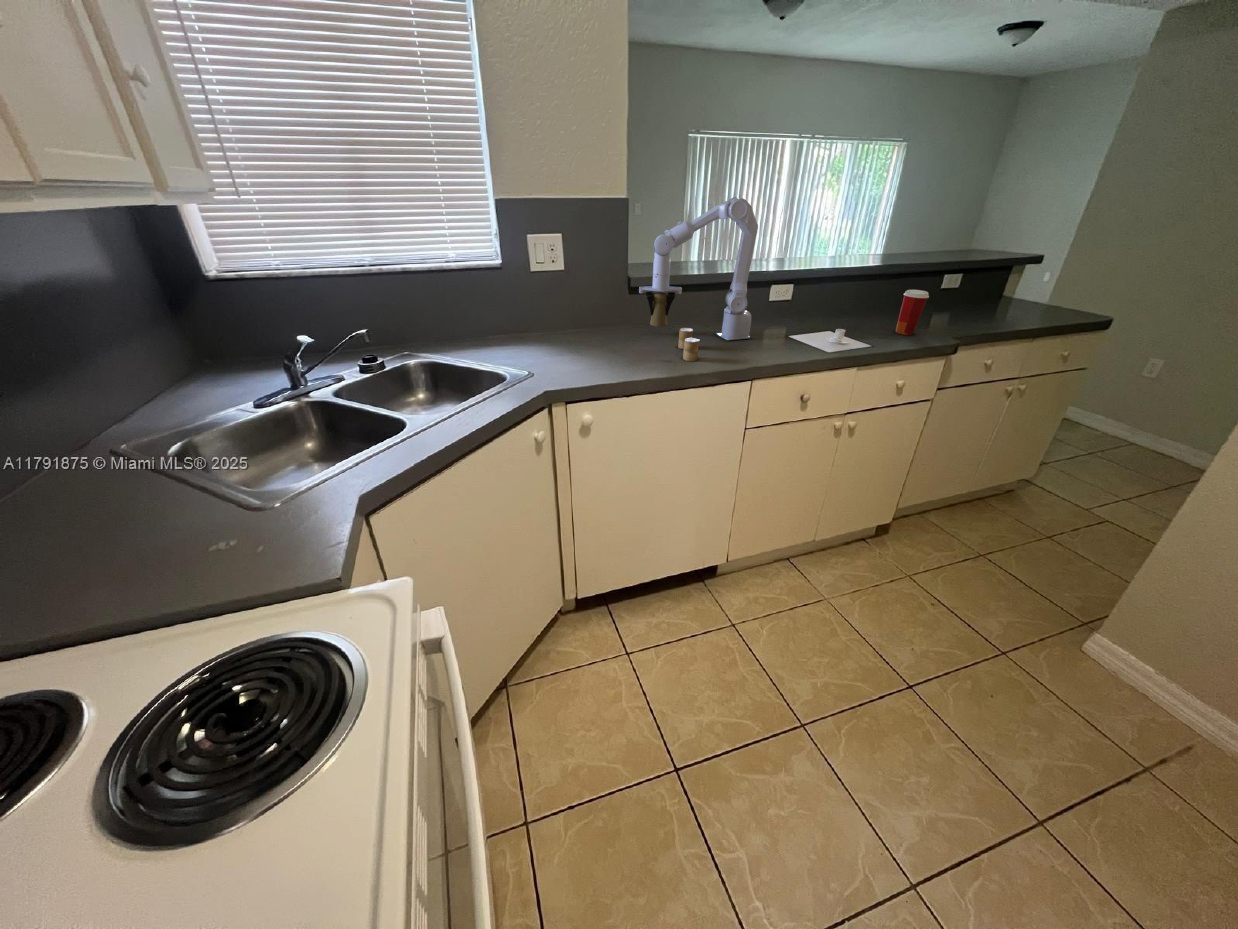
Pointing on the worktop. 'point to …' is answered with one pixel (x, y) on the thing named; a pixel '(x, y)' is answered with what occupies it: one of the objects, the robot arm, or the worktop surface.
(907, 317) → the coffee cup
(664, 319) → the cork
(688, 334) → the post
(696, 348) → the post
